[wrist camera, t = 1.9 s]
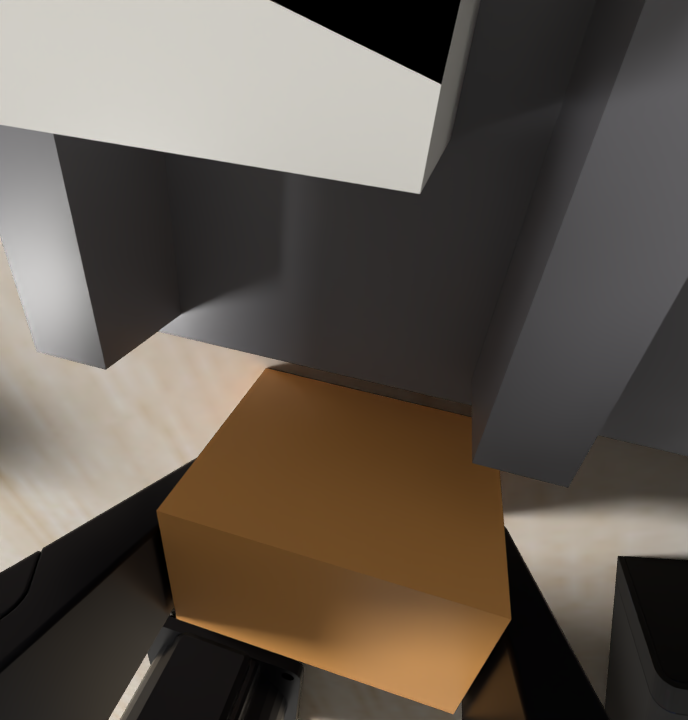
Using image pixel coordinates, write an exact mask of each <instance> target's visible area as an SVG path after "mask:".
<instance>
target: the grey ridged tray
mask: <svg viewBox="0 0 688 720" xmlns="http://www.w3.org/2000/svg"><path fill="white" fill-rule="evenodd" d="M270 1H272V2H274V3H276V4H278V5H281V6H283V7H285V8H287V9H289V10H291V11H293V12H295V13H297V14H299V15H301V16H303V17H305V18H307V19H309V20H311V21H313V22H315V23H317V24H319V25H321V26H323V27H325V28H327V29H329V30H331V31H333V32H335V33H337V34H339V35H341V36H344V37H346V38H348V39H350V40H352V41H354V42H356V43H358V44H360V45H362V46H364V47H366V48H368V49H370V50H372V51H374V52H376V53H378V54H380V55H382V56H384V57H386V58H388V59H390V60H392V61H394V62H396V63H398V64H400V65H402V66H404V67H406V68H409V69H411V70H413V71H415V72H417V73H419V74H421V75H423V76H425V77H427V78H429V79H431V80H433V81H435V82H437V83H439V84H442V80H443V75H444V71H445V67H446V62H447V58H448V54H449V49H450V45H451V40H452V36H453V32H454V27H455V23H456V19H457V14H458V10H459V6H460V1H461V0H270ZM0 238H1V241H2V244H3V247H4V250H5V254H6V257H7V260H8V263H9V266H10V269H11V272H12V276H13V279H14V282H15V285H16V288H17V291H18V294H19V298H20V301H21V304H22V307H23V310H24V313H25V316H26V319H27V323H28V326H29V329H30V332H31V335H32V338H33V341H34V345H35V348H36V351H37V352H39V353H43V354H47V355H51V356H55V357H59V358H63V359H67V360H70V361H74V362H78V363H82V364H86V365H90V366H94V367H98V368H102V369H107V368H109V367H110V366H111V365H113V364H114V363H116V362H117V361H118V360H120V359H121V358H122V357H124V356H125V355H126V354H128V353H129V352H131V351H132V350H133V349H135V348H136V347H137V346H139V345H140V344H141V343H143V342H144V341H145V340H147V339H148V338H150V337H151V336H152V335H154V334H155V333H156V332H162V333H166V334H170V335H175V336H179V337H183V338H187V339H192V340H196V341H200V342H204V343H209V344H213V345H217V346H221V347H226V348H230V349H234V350H238V351H243V352H247V353H251V354H255V355H260V356H264V357H268V358H272V359H277V360H281V361H285V362H289V363H294V364H298V365H302V366H306V367H311V368H315V369H319V370H323V371H328V372H332V373H336V374H340V375H344V376H349V377H353V378H357V379H361V380H366V381H370V382H374V383H378V384H383V385H387V386H391V387H395V388H400V389H404V390H408V391H412V392H417V393H421V394H425V395H429V396H434V397H438V398H442V399H446V400H451V401H455V402H459V403H463V404H468V405H472V463H474V464H478V465H481V466H485V467H489V468H493V469H497V470H501V471H505V472H509V473H513V474H517V475H521V476H524V477H528V478H532V479H536V480H540V481H544V482H548V483H552V484H556V485H560V486H564V487H569V486H570V484H571V482H572V480H573V478H574V477H575V475H576V473H577V471H578V470H579V468H580V466H581V464H582V463H583V461H584V459H585V457H586V456H587V454H588V452H589V450H590V448H591V447H592V445H593V443H594V441H595V440H596V438H597V436H598V435H599V436H603V437H608V438H612V439H616V440H620V441H625V442H629V443H633V444H637V445H642V446H646V447H650V448H654V449H659V450H663V451H667V452H671V453H676V454H680V455H684V456H688V0H480V5H479V10H478V14H477V19H476V24H475V28H474V33H473V37H472V42H471V47H470V51H469V56H468V61H467V65H466V70H465V74H464V79H463V84H462V88H461V93H460V97H459V102H458V107H457V111H456V116H455V121H454V125H453V130H452V134H451V139H450V141H449V143H448V144H447V146H446V148H445V150H444V152H443V153H442V155H441V157H440V159H439V161H438V163H437V164H436V166H435V168H434V170H433V172H432V173H431V175H430V177H429V179H428V181H427V182H426V184H425V186H424V188H423V190H422V191H421V193H420V194H417V193H411V192H405V191H399V190H392V189H386V188H380V187H374V186H368V185H362V184H356V183H350V182H344V181H338V180H332V179H326V178H320V177H314V176H308V175H302V174H296V173H290V172H284V171H277V170H271V169H265V168H259V167H253V166H247V165H241V164H235V163H229V162H223V161H217V160H211V159H205V158H199V157H193V156H187V155H181V154H175V153H168V152H162V151H156V150H150V149H144V148H138V147H132V146H126V145H120V144H114V143H108V142H102V141H96V140H90V139H84V138H78V137H72V136H66V135H59V134H53V133H47V132H41V131H35V130H29V129H23V128H17V127H11V126H5V125H0Z"/></svg>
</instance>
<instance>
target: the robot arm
mask: <svg viewBox="0 0 688 720" xmlns="http://www.w3.org/2000/svg"><path fill="white" fill-rule="evenodd" d="M196 459H197V458H196ZM196 459H194V460H192V461H190V462H189V463H187V464H185V465H184V466H182V467H180V468H178V469H177V470H175V471H173V472H172V473H170V474H168V475H167V476H165V477H163V478H161V479H160V480H158V481H156V482H155V483H153V484H151V485H150V486H148V487H146V488H144V489H143V490H141V491H139V492H138V493H136V494H134V495H133V496H131V497H129V498H127V499H126V500H124V501H122V502H121V503H119V504H117V505H116V506H114V507H112V508H110V509H109V510H107V511H105V512H104V513H102V514H100V515H98V516H97V517H95V518H93V519H92V520H90V521H88V522H87V523H85V524H83V525H81V526H80V527H78V528H76V529H75V530H73V531H71V532H70V533H68V534H66V535H64V536H63V537H61V538H59V539H58V540H56V541H54V542H53V543H51V544H49V545H47V546H46V547H44V548H43V549H42V551H41V552H40V551H37V552H35V553H33V554H32V555H30V556H28V557H27V558H25V559H23V560H22V561H20V562H18V563H16V564H15V565H13V566H11V567H9V568H8V569H6V570H4V571H2V572H1V573H0V720H108V719H109V717H110V716H111V714H112V712H113V710H114V709H115V707H116V705H117V704H118V702H119V700H120V698H121V697H122V695H123V693H124V692H125V690H126V688H127V687H128V685H129V683H130V681H131V680H132V678H133V676H134V675H135V673H136V671H137V670H138V668H139V666H140V664H141V663H142V661H143V659H144V658H145V656H146V654H147V653H148V657H149V660H150V664H151V666H150V667H149V669H148V671H147V673H146V674H145V676H144V678H143V680H142V681H141V683H140V685H139V687H138V689H137V690H136V692H135V694H134V696H133V697H132V699H131V701H130V703H129V704H128V706H127V708H126V710H125V711H124V713H123V715H122V717H121V718H120V720H297V719H298V711H299V703H300V696H301V688H302V681H303V673H304V667H303V665H302V664H301V663H300V662H298V661H297V660H294V659H292V658H289V657H286V656H283V655H280V654H277V653H274V652H271V651H268V650H266V649H263V648H260V647H257V646H254V645H251V644H248V643H245V642H242V641H239V640H237V639H234V638H231V637H228V636H225V635H222V634H219V633H216V632H213V631H211V630H208V629H205V628H202V627H199V626H196V625H193V624H190V623H187V622H184V621H182V620H179V619H176V618H173V617H170V616H169V615H170V613H171V612H172V610H173V608H174V602H173V597H172V591H171V586H170V581H169V575H168V570H167V565H166V559H165V554H164V549H163V543H162V538H161V533H160V527H159V522H158V517H157V509H158V508H159V507H160V505H161V504H162V503H163V501H164V500H165V499H166V498H167V496H168V495H169V494H170V492H171V491H172V490H173V488H174V487H175V486H176V485H177V483H178V482H179V481H180V479H181V478H182V477H183V475H184V474H185V473H186V472H187V470H188V469H189V468H190V466H191V465H192V464H193V462H194V461H195V460H196ZM504 531H505V544H506V557H507V570H508V583H509V596H510V609H511V621H510V622H509V624H508V625H507V627H506V629H505V630H504V632H503V634H502V635H501V637H500V639H499V640H498V642H497V643H496V645H495V647H494V648H493V650H492V652H491V653H490V655H489V657H488V658H487V660H486V662H485V663H484V665H483V666H482V668H481V670H480V671H479V673H478V675H477V676H476V678H475V680H474V681H473V683H472V684H471V686H470V688H469V689H468V691H467V693H466V694H465V696H464V698H463V699H462V720H610V718H609V716H608V714H607V713H606V711H605V709H604V707H603V705H602V703H601V702H600V700H599V698H598V696H597V694H596V692H595V690H594V689H593V687H592V685H591V683H590V681H589V679H588V678H587V676H586V674H585V672H584V670H583V668H582V667H581V665H580V663H579V661H578V659H577V657H576V655H575V654H574V652H573V650H572V648H571V646H570V644H569V643H568V641H567V639H566V637H565V635H564V633H563V632H562V630H561V628H560V626H559V624H558V622H557V620H556V619H555V617H554V615H553V613H552V611H551V609H550V608H549V606H548V604H547V602H546V600H545V598H544V597H543V595H542V593H541V591H540V589H539V587H538V585H537V584H536V582H535V580H534V578H533V576H532V574H531V573H530V571H529V569H528V567H527V565H526V563H525V562H524V560H523V558H522V556H521V554H520V552H519V550H518V549H517V547H516V545H515V543H514V541H513V539H512V538H511V536H510V534H509V532H508V530H507V529H506V527H505V526H504Z"/></svg>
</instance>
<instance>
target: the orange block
mask: <svg viewBox="0 0 688 720" xmlns="http://www.w3.org/2000/svg"><path fill="white" fill-rule="evenodd" d="M157 517H158V522H159V527H160V533H161V538H162V543H163V549H164V554H165V559H166V565H167V570H168V575H169V581H170V586H171V591H172V597H173V602H174V607H175V613H176V618H177V619H179V620H182V621H184V622H187V623H190V624H193V625H196V626H199V627H202V628H205V629H208V630H211V631H213V632H216V633H219V634H222V635H225V636H228V637H231V638H234V639H237V640H239V641H242V642H245V643H248V644H251V645H254V646H257V647H260V648H263V649H266V650H268V651H271V652H274V653H277V654H280V655H283V656H286V657H289V658H292V659H295V660H297V661H300V662H303V663H306V664H309V665H312V666H315V667H318V668H321V669H323V670H326V671H329V672H332V673H335V674H338V675H341V676H344V677H347V678H350V679H352V680H355V681H358V682H361V683H364V684H367V685H370V686H373V687H376V688H379V689H381V690H384V691H387V692H390V693H393V694H396V695H399V696H402V697H405V698H408V699H410V700H413V701H416V702H419V703H422V704H425V705H428V706H431V707H434V708H436V709H439V710H442V711H445V712H448V713H451V714H454V712H455V711H456V709H457V707H458V706H459V704H460V702H461V701H462V699H463V698H464V696H465V694H466V693H467V691H468V689H469V688H470V686H471V684H472V683H473V681H474V680H475V678H476V676H477V675H478V673H479V671H480V670H481V668H482V666H483V665H484V663H485V662H486V660H487V658H488V657H489V655H490V653H491V652H492V650H493V648H494V647H495V645H496V643H497V642H498V640H499V639H500V637H501V635H502V634H503V632H504V630H505V629H506V627H507V625H508V624H509V622H510V621H511V609H510V596H509V583H508V570H507V557H506V544H505V531H504V518H503V506H502V493H501V480H500V470H497V469H493V468H489V467H485V466H481V465H478V464H474V463H472V417H468V416H464V415H459V414H455V413H451V412H447V411H443V410H439V409H434V408H430V407H426V406H422V405H418V404H414V403H409V402H405V401H401V400H397V399H393V398H389V397H385V396H380V395H376V394H372V393H368V392H364V391H360V390H355V389H351V388H347V387H343V386H339V385H335V384H330V383H326V382H322V381H318V380H314V379H310V378H305V377H301V376H297V375H293V374H289V373H285V372H280V371H276V370H272V369H268V368H266V369H265V370H264V371H263V373H262V374H261V375H260V377H259V378H258V379H257V381H256V382H255V383H254V384H253V386H252V387H251V388H250V390H249V391H248V392H247V394H246V395H245V396H244V397H243V399H242V400H241V401H240V403H239V404H238V405H237V407H236V408H235V409H234V410H233V412H232V413H231V414H230V416H229V417H228V418H227V420H226V421H225V422H224V423H223V425H222V426H221V427H220V429H219V430H218V431H217V433H216V434H215V435H214V436H213V438H212V439H211V440H210V442H209V443H208V444H207V446H206V447H205V448H204V449H203V451H202V452H201V453H200V455H199V456H198V457H197V459H196V460H195V461H194V462H193V464H192V465H191V466H190V468H189V469H188V470H187V472H186V473H185V474H184V475H183V477H182V478H181V479H180V481H179V482H178V483H177V485H176V486H175V487H174V488H173V490H172V491H171V492H170V494H169V495H168V496H167V498H166V499H165V500H164V501H163V503H162V504H161V505H160V507H159V508H158V509H157Z"/></svg>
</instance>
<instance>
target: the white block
mask: <svg viewBox="0 0 688 720" xmlns="http://www.w3.org/2000/svg"><path fill="white" fill-rule="evenodd" d="M479 5H480V0H461V1H460V6H459V10H458V14H457V19H456V23H455V27H454V32H453V36H452V40H451V45H450V49H449V54H448V58H447V62H446V67H445V71H444V75H443V80H442V84H439V83H437V82H435V81H433V80H431V79H429V78H427V77H425V76H423V75H421V74H419V73H417V72H415V71H413V70H411V69H409V68H406V67H404V66H402V65H400V64H398V63H396V62H394V61H392V60H390V59H388V58H386V57H384V56H382V55H380V54H378V53H376V52H374V51H372V50H370V49H368V48H366V47H364V46H362V45H360V44H358V43H356V42H354V41H352V40H350V39H348V38H346V37H344V36H341V35H339V34H337V33H335V32H333V31H331V30H329V29H327V28H325V27H323V26H321V25H319V24H317V23H315V22H313V21H311V20H309V19H307V18H305V17H303V16H301V15H299V14H297V13H295V12H293V11H291V10H289V9H287V8H285V7H283V6H281V5H278V4H276V3H274V2H272V1H270V0H0V125H5V126H11V127H17V128H23V129H29V130H35V131H41V132H47V133H53V134H59V135H66V136H72V137H78V138H84V139H90V140H96V141H102V142H108V143H114V144H120V145H126V146H132V147H138V148H144V149H150V150H156V151H162V152H168V153H175V154H181V155H187V156H193V157H199V158H205V159H211V160H217V161H223V162H229V163H235V164H241V165H247V166H253V167H259V168H265V169H271V170H277V171H284V172H290V173H296V174H302V175H308V176H314V177H320V178H326V179H332V180H338V181H344V182H350V183H356V184H362V185H368V186H374V187H380V188H386V189H392V190H399V191H405V192H411V193H417V194H420V193H421V191H422V190H423V188H424V186H425V184H426V182H427V181H428V179H429V177H430V175H431V173H432V172H433V170H434V168H435V166H436V164H437V163H438V161H439V159H440V157H441V155H442V153H443V152H444V150H445V148H446V146H447V144H448V143H449V141H450V139H451V134H452V130H453V125H454V121H455V116H456V111H457V107H458V102H459V97H460V93H461V88H462V84H463V79H464V74H465V70H466V65H467V61H468V56H469V51H470V47H471V42H472V37H473V33H474V28H475V24H476V19H477V14H478V10H479Z"/></svg>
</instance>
